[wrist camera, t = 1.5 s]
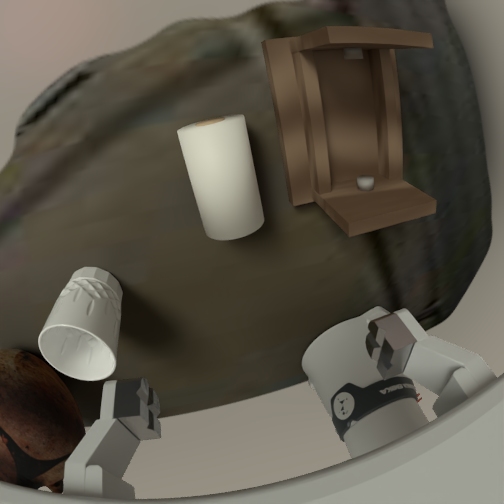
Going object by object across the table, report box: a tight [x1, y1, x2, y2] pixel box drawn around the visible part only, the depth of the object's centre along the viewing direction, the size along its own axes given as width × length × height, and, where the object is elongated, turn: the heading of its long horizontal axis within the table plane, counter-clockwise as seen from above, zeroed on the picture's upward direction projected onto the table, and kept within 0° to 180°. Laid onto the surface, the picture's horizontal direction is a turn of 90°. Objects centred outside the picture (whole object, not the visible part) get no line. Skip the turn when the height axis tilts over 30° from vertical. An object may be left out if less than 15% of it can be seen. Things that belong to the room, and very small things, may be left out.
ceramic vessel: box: [0, 349, 86, 494], centre depth 24 cm, size 21×18×30 cm
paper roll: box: [177, 114, 264, 240], centre depth 26 cm, size 10×6×6 cm, turn 11°
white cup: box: [38, 267, 123, 381], centre depth 28 cm, size 8×8×10 cm
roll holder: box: [261, 26, 437, 237], centre depth 23 cm, size 16×13×10 cm
